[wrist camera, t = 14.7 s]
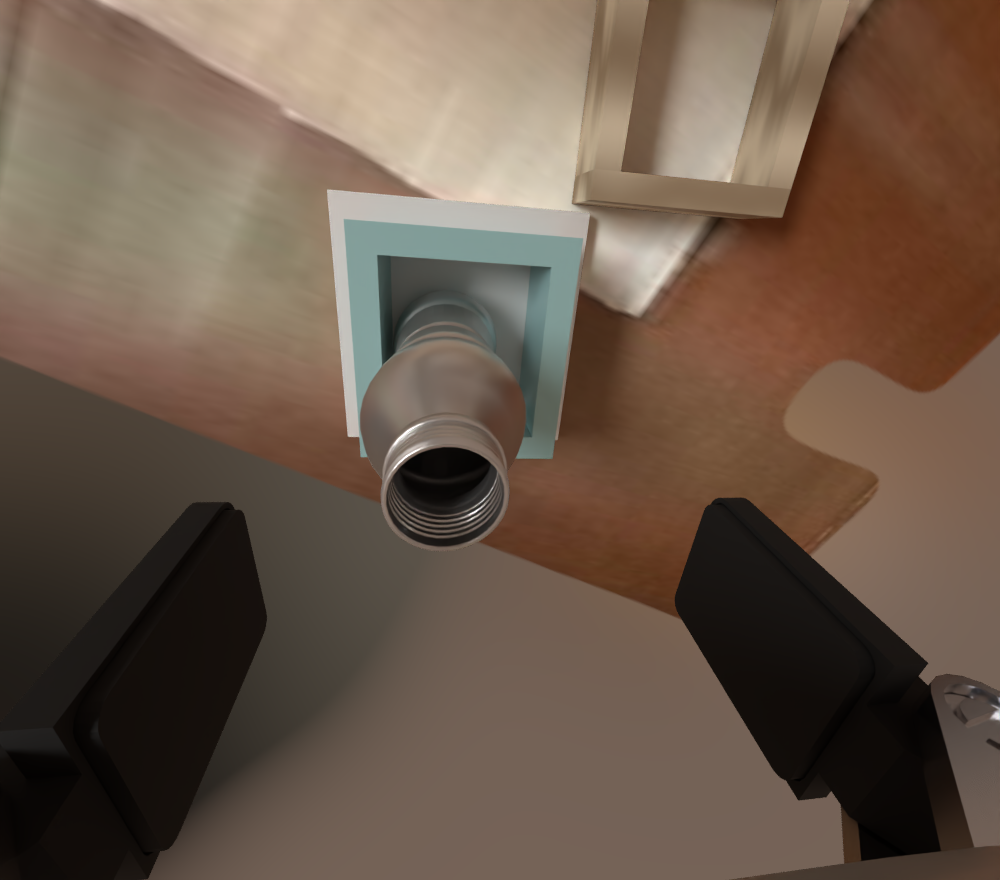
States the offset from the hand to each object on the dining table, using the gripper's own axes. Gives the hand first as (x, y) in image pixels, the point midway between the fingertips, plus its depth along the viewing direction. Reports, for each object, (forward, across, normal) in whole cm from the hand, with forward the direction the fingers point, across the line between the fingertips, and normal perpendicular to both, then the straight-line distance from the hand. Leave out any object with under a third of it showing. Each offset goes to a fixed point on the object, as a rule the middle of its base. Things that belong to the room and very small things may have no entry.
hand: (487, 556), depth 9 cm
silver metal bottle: (+23, +1, +1) cm, 23 cm away
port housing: (+24, 0, +1) cm, 24 cm away
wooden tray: (+24, -13, -14) cm, 31 cm away
